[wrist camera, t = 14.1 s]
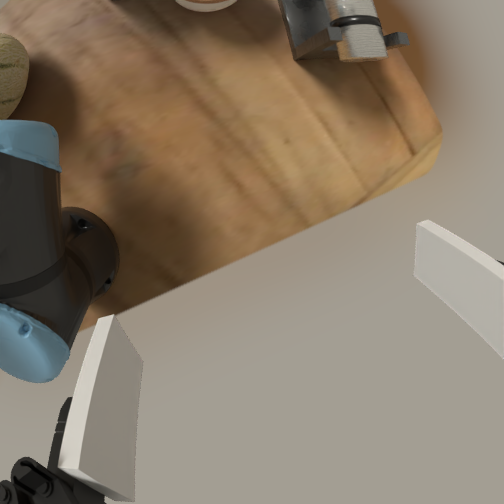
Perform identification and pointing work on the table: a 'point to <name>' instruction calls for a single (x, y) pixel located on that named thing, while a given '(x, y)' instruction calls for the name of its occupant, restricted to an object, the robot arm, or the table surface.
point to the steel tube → (357, 30)
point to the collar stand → (319, 30)
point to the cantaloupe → (12, 74)
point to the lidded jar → (205, 4)
